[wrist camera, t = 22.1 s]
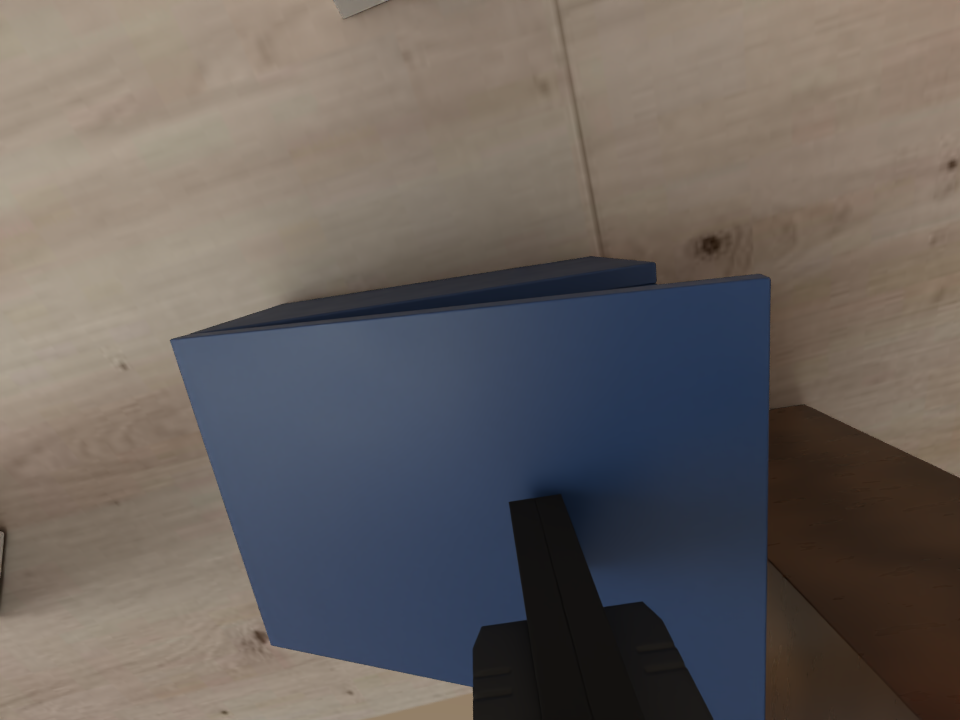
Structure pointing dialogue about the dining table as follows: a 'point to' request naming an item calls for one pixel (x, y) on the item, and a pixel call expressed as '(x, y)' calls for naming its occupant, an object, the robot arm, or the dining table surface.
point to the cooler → (461, 291)
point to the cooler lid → (500, 469)
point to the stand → (859, 576)
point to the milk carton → (1, 548)
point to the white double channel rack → (355, 6)
